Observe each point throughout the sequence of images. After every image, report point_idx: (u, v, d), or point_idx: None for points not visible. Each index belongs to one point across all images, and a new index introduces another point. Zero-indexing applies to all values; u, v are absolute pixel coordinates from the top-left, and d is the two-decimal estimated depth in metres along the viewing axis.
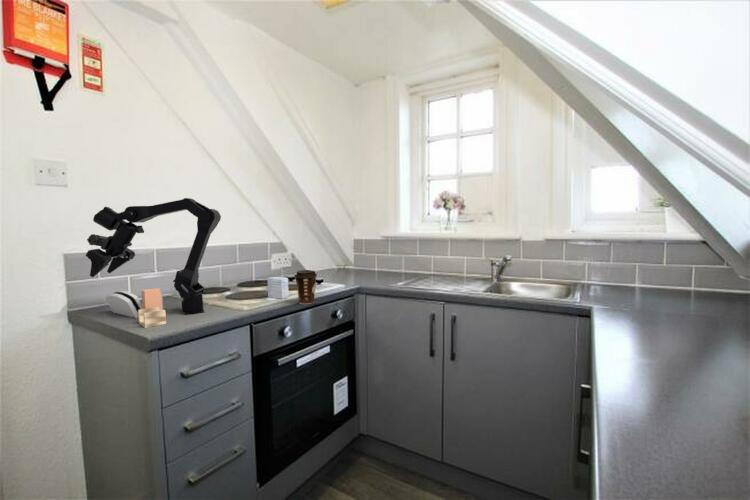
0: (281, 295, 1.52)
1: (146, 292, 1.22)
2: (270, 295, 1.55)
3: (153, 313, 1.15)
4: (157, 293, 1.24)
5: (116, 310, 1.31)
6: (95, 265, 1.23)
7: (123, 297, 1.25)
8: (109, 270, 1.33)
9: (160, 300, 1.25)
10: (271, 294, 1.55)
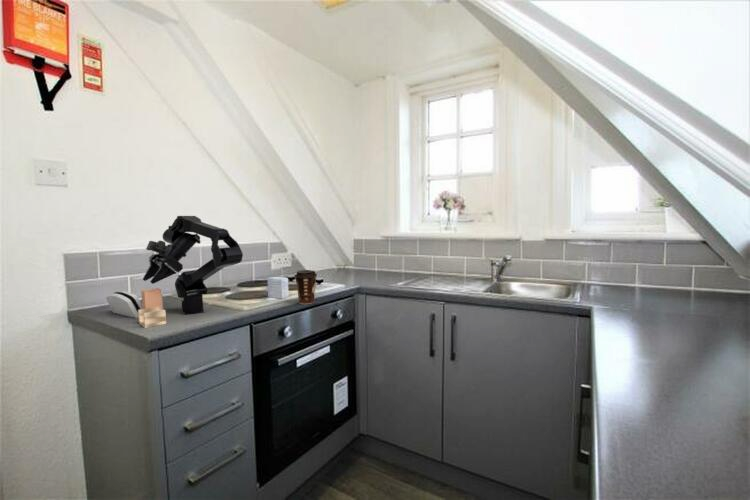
0: (281, 295, 1.52)
1: (146, 292, 1.22)
2: (270, 295, 1.55)
3: (153, 313, 1.15)
4: (157, 293, 1.24)
5: (116, 310, 1.31)
6: (162, 272, 1.21)
7: (123, 297, 1.25)
8: (146, 278, 1.27)
9: (160, 300, 1.25)
10: (271, 294, 1.55)
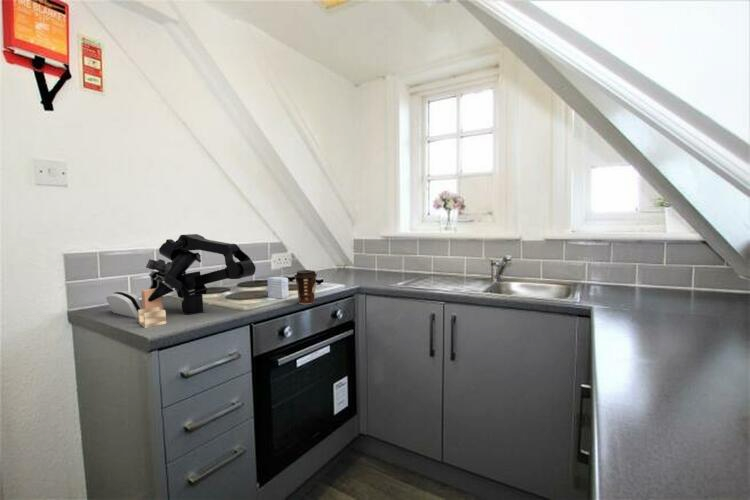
0: (281, 295, 1.52)
1: (146, 292, 1.22)
2: (270, 295, 1.55)
3: (153, 313, 1.15)
4: None
5: (116, 310, 1.31)
6: (159, 290, 1.23)
7: (123, 297, 1.25)
8: None
9: (160, 300, 1.25)
10: (271, 294, 1.55)
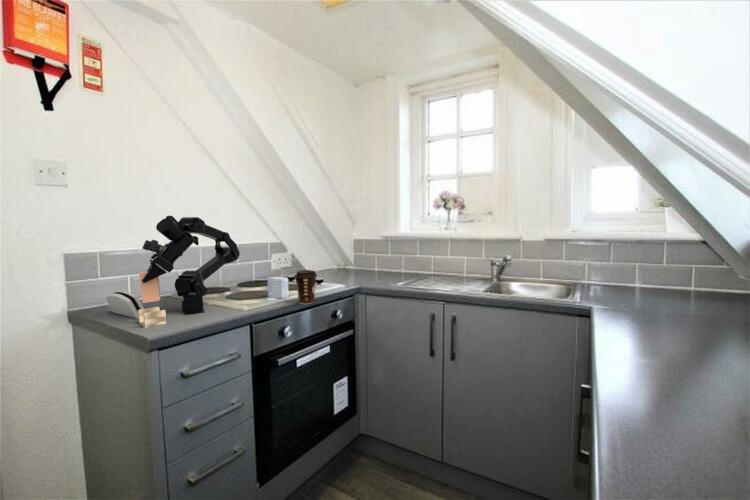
0: (281, 295, 1.52)
1: (141, 274, 1.19)
2: (270, 295, 1.55)
3: (153, 313, 1.15)
4: None
5: (116, 310, 1.31)
6: (153, 271, 1.20)
7: (123, 297, 1.25)
8: None
9: (156, 283, 1.22)
10: (271, 294, 1.55)
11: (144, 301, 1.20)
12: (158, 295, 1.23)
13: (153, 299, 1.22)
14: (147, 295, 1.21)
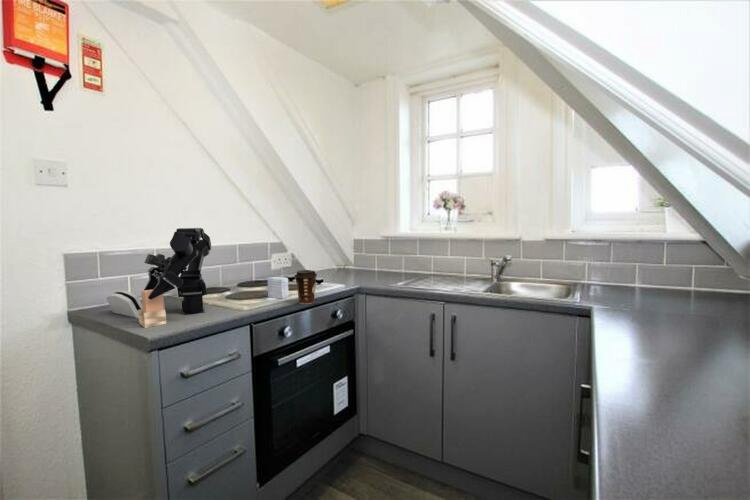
0: (281, 295, 1.52)
1: (147, 293, 1.15)
2: (270, 295, 1.55)
3: (153, 313, 1.15)
4: None
5: (117, 310, 1.31)
6: (160, 287, 1.15)
7: (124, 297, 1.25)
8: None
9: (161, 301, 1.18)
10: (271, 294, 1.55)
11: None
12: None
13: None
14: None
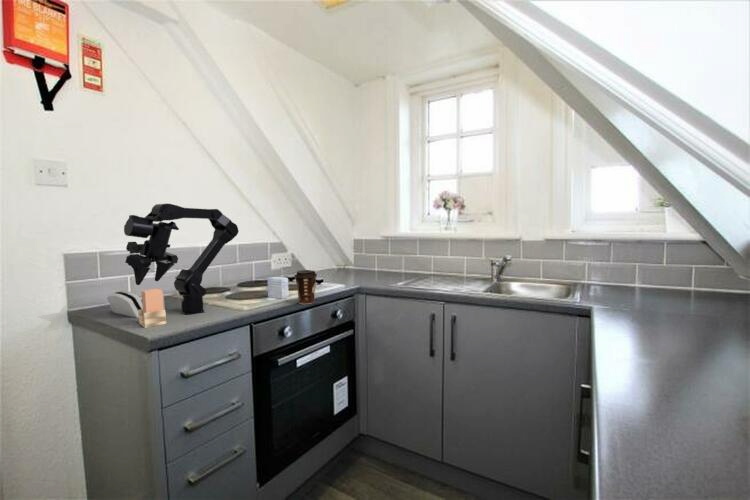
0: (281, 295, 1.52)
1: (147, 293, 1.15)
2: (270, 295, 1.55)
3: (153, 313, 1.15)
4: (158, 294, 1.17)
5: (117, 310, 1.31)
6: (138, 272, 1.17)
7: (124, 297, 1.25)
8: (156, 278, 1.28)
9: (161, 301, 1.18)
10: (271, 294, 1.55)
11: None
12: None
13: None
14: None
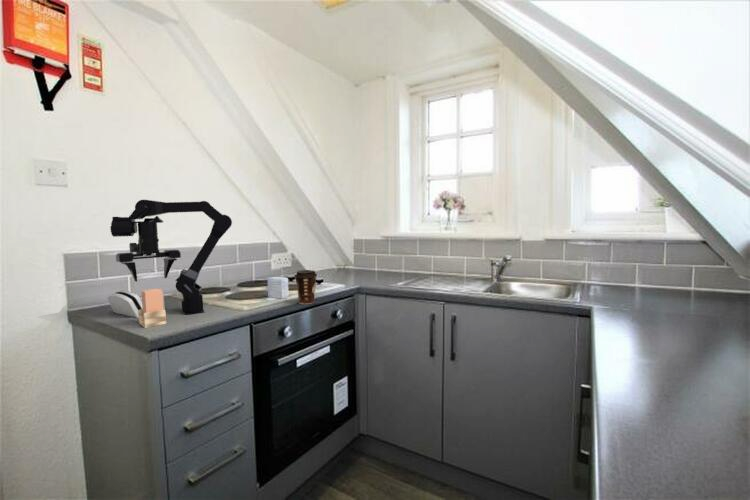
0: (281, 295, 1.52)
1: (147, 293, 1.15)
2: (270, 295, 1.55)
3: (153, 313, 1.15)
4: (158, 294, 1.17)
5: (118, 310, 1.31)
6: (130, 268, 1.23)
7: (124, 297, 1.25)
8: (164, 275, 1.30)
9: (161, 301, 1.18)
10: (271, 294, 1.55)
11: None
12: None
13: None
14: None
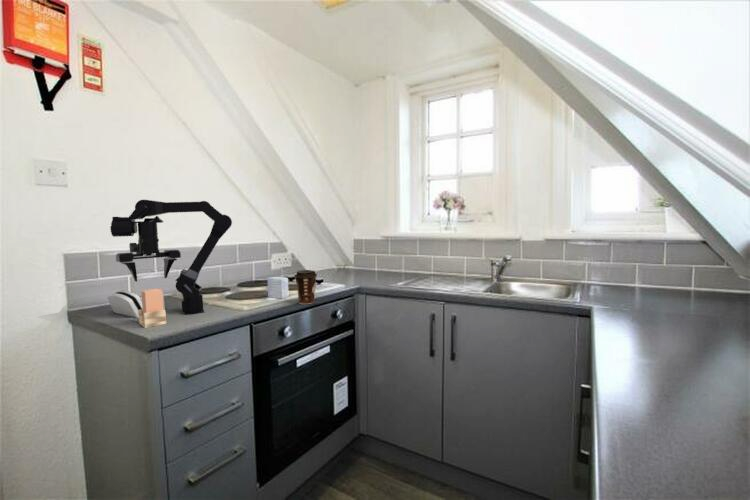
0: (281, 295, 1.52)
1: (147, 293, 1.15)
2: (270, 295, 1.55)
3: (153, 313, 1.15)
4: (158, 294, 1.17)
5: (118, 310, 1.31)
6: (130, 268, 1.23)
7: (125, 297, 1.25)
8: (164, 275, 1.30)
9: (161, 301, 1.18)
10: (271, 294, 1.55)
11: None
12: None
13: None
14: None
